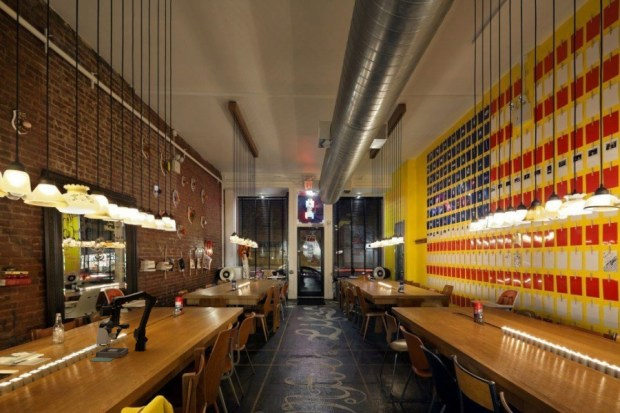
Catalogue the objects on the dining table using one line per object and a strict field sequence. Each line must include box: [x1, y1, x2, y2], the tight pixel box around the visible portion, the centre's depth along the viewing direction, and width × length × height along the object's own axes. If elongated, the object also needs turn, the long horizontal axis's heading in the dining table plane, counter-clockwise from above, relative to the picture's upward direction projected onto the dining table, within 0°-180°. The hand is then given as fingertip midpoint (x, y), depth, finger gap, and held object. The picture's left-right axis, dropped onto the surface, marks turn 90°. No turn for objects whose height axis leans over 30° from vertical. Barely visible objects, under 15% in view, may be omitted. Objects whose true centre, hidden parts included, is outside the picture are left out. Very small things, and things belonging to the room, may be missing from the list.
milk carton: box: [95, 317, 112, 345], centre depth 293 cm, size 7×7×19 cm
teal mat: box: [89, 356, 114, 363], centre depth 255 cm, size 12×7×1 cm, turn 93°
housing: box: [95, 346, 130, 359], centre depth 268 cm, size 16×14×3 cm
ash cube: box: [109, 332, 117, 341], centre depth 268 cm, size 4×4×4 cm
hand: (113, 338), depth 268 cm, fingers closed on ash cube, 4 cm apart
